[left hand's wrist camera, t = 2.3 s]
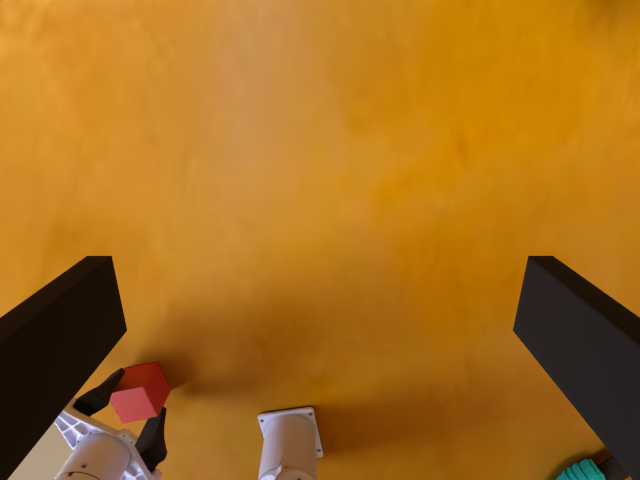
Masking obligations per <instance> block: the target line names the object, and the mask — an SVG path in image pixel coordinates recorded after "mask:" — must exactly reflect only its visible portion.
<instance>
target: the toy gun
mask: <svg viewBox="0 0 640 480" xmlns="http://www.w3.org/2000/svg"><path fill="white" fill-rule="evenodd" d="M627 477H629V474H628V473H627V472H626V471H625V469H624V468H623V467H622V466H621V464H620V463H619V462H618V461H617V459H616V458H615V457H614V456H613V455H612V456H611V457H609V458H608V459H606V460H605V461H603V462H602V463H600V464H599V465H597V466H596V465H595V463H594V462H593V461H592V458H590V459H584V460H583V461H581V462H579V463H575V464H573V465H572V467H568V468H567V470H564V471H562V474H561V475H560V476H559V477H558V478H557V479H556V480H624V479H626V478H627Z"/></svg>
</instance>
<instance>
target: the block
mask: <svg viewBox="0 0 640 480" xmlns="http://www.w3.org/2000/svg"><path fill="white" fill-rule="evenodd" d="M124 370H125V371H126V372H125V374H124V376H123V377H122V379H121V380H120V381H119V383H118V384H117V385H116V387H115V389H114V391H113V393H112V395H111V397H110V401H111V403H112V405H113V407H114V409H115V411H116V412H117V414H118V416H119V418H120V420H121V422H122V423H127V422H132V421H137V420H142V419H148V418H153V417H158V415H159V413H160V411H161V409H162V407H163V405H164V403H165V401H166V399H167V397H168V395H169V393H170V391H171V389H170V387H169V385H168V383H167V381H166V379H165V376H164V374H163V372H162V370H161V368H160V366H159V363H158V362H154V363H149V364H144V365H139V366H134V367H129V368H124Z"/></svg>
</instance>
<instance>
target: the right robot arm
mask: <svg viewBox="0 0 640 480" xmlns="http://www.w3.org/2000/svg"><path fill="white" fill-rule="evenodd" d="M125 372H126V371H125V370H124V369H123V368H120V369H119V370H117V371H116V372H114V373H113V374H111V375H110V376H109V377H108V378H107V379H106V380H105V381H104V382H103V383H102V384H101V385H99V386H98V387H96V388H94V389H92V390H90V391H88V392H87V393H85V394H83V395H82V396H80V397H79V398H77V399H75V398H74V397H73V398H72V400H71V401H70V402H69V403H68V405H67V406H66V407H65V408H64V410H63V411H62V412H61V413H60V415H59V416H58V417H57V418H56V420H55V421H54V423H55V424H56V426H57V427H58V428H59V430H60V431H61V433H62V435H63V436H64V438H65V439H66V441H67V442H68V444H69V445H70V447H71V448H72V450H73V452H72V454H71V455H70V457H69V458H68V460H67V461H66V463H65V464H64V466H63V467H62V469H61V470H60V471H59V473H58V474H57V476H56V477H55V479H54V480H160V477H161V475H162V472H160V471H159V470H158V469H155V467H156V466H157V465H158V463H160V462H162V461H163V460H164V459H165V458H166V455H167V450H166V446H165V440H164V423H165V415H166V408H165V407H164V406H163V407H162V409H161V411H160V413H159V415H158V417H153V418H149V419H148V420H147V422H146V424H145V426H144V428H143V430H142V432H141V434H140V436H139V438H137V436H136V435H135V434H134V433H132V432H131V431H130V430H129V429H126V428H125V429H122V430H120V431H118V430H116V429H114V428H112V427H110V426H108V425H106V424H104V423H101V422H99V421H97V420H95V419H93V418H91V417H90V416H91V415H93V414H94V413H96V412H98V411H100V410H101V409H103V408H104V407H106V406H107V405H108V404H109V400H110V397H111V395H112V393H113V391H114V389H115V387H116V385H117V384H118V383H119V381H120V380H121V379H122V377H123V376H124V374H125ZM261 419H263V420H261ZM258 420H259V424H260V427H261V430H262V434H263V437H264V445H263V451H262V458H261V464H260V471H259V477H258V480H317V458H321V457H323V449H322V445H321V440H320V436H319V431H318V427H317V423H316V418H315V414H314V409H313V408H312V407H305V408H298V409H291V410H283V411H276V412H269V413H261V414H259V415H258Z"/></svg>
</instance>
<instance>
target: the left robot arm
mask: <svg viewBox="0 0 640 480" xmlns="http://www.w3.org/2000/svg"><path fill="white" fill-rule="evenodd" d="M126 331H127V328H126V323H125V318H124V313H123V309H122V304H121V299H120V294H119V289H118V285H117V280H116V275H115V270H114V266H113V261H112V256H86V257H85V258H84V259H82V260H81V261H79V262H78V263H77V264H75V265H74V266H72V267H71V268H70V269H68V270H67V271H65V272H64V273H63V274H61V275H60V276H58V277H57V278H56V279H54V280H53V281H51V282H50V283H49V284H47V285H46V286H44V287H43V288H42V289H40V290H39V291H37V292H36V293H35V294H33V295H32V296H30V297H29V298H27V299H26V300H25V301H23V302H22V303H20V304H19V305H18V306H16V307H15V308H13V309H12V310H11V311H9V312H8V313H6V314H5V315H4V316H2V317H1V318H0V480H7V479H8V478H9V477H10V476H11V474H12V473H13V472H14V471H15V469H16V468H17V467H18V466H19V464H20V463H21V462H22V461H23V459H24V458H25V457H26V456H27V454H28V453H29V452H30V451H31V449H32V448H33V447H34V446H35V445H36V443H37V442H38V441H39V439H40V438H41V437H42V436H43V435H44V433H45V432H46V431H47V430H48V428H49V427H50V426H51V425H52V423H53V422H54V421H55V420H56V418H57V417H58V416H59V415H60V413H61V412H62V411H63V410H64V408H65V407H66V406H67V405H68V403H69V402H70V401H71V400H72V398H73V397H74V396H75V395H76V393H77V392H78V391H79V390H80V388H81V387H82V386H83V385H84V383H85V382H86V381H87V380H88V378H89V377H90V376H91V375H92V374H93V372H94V371H95V370H96V369H97V367H98V366H99V365H100V364H101V362H102V361H103V360H104V359H105V357H106V356H107V355H108V354H109V352H110V351H111V350H112V349H113V347H114V346H115V345H116V344H117V342H118V341H119V340H120V339H121V337H122V336H123V335H124V334H125V332H126ZM513 331H514V332H515V334H516V335H517V336H518V337H519V339H520V340H521V341H522V342H523V344H524V345H525V346H526V347H527V349H528V350H529V351H530V352H531V354H532V355H533V356H534V357H535V359H536V360H537V361H538V362H539V364H540V365H541V366H542V367H543V369H544V370H545V371H546V372H547V374H548V375H549V376H550V377H551V379H552V380H553V381H554V382H555V383H556V385H557V386H558V387H559V388H560V390H561V391H562V392H563V393H564V395H565V396H566V397H567V398H568V400H569V401H570V402H571V403H572V405H573V406H574V407H575V408H576V410H577V411H578V412H579V413H580V415H581V416H582V417H583V418H584V420H585V421H586V422H587V423H588V425H589V426H590V427H591V428H592V430H593V431H594V432H595V433H596V435H597V436H598V437H599V438H600V440H601V441H602V442H603V443H604V445H605V446H606V447H607V448H608V449H609V451H610V452H611V453H612V454H613V456H614V457H615V458H616V459H617V461H618V462H619V463H620V464H621V466H622V467H623V468H624V469H625V471H626V472H627V473H628V474H629V476H630V477H631V478H632V479H633V480H640V318H639V317H638V316H636V315H635V314H634V313H632V312H631V311H629V310H628V309H627V308H625V307H624V306H622V305H621V304H620V303H618V302H617V301H615V300H614V299H613V298H611V297H610V296H608V295H607V294H605V293H604V292H603V291H601V290H600V289H598V288H597V287H596V286H594V285H593V284H591V283H590V282H589V281H587V280H586V279H584V278H583V277H582V276H580V275H579V274H577V273H576V272H575V271H573V270H572V269H570V268H569V267H568V266H566V265H565V264H563V263H562V262H561V261H559V260H558V259H556V258H555V257H554V256H528V261H527V266H526V270H525V275H524V280H523V285H522V289H521V294H520V299H519V304H518V309H517V313H516V318H515V323H514V328H513Z"/></svg>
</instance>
